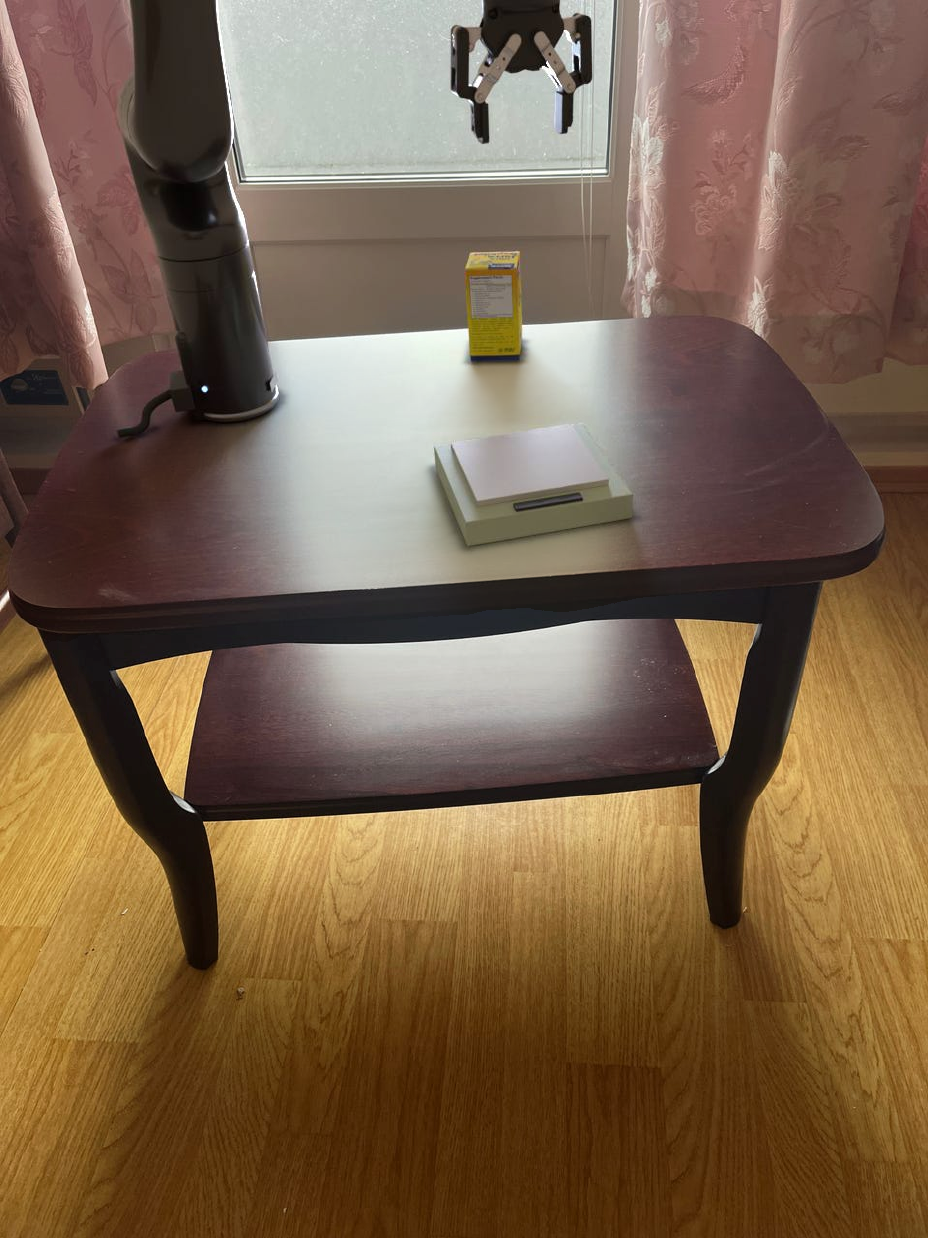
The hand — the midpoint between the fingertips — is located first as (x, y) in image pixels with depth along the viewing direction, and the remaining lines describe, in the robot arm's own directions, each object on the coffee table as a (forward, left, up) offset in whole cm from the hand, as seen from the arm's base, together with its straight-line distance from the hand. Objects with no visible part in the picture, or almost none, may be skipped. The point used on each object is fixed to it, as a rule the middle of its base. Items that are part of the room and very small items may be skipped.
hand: (522, 137), depth 99 cm
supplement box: (-3, +1, -24) cm, 24 cm away
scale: (-8, -31, -23) cm, 40 cm away
